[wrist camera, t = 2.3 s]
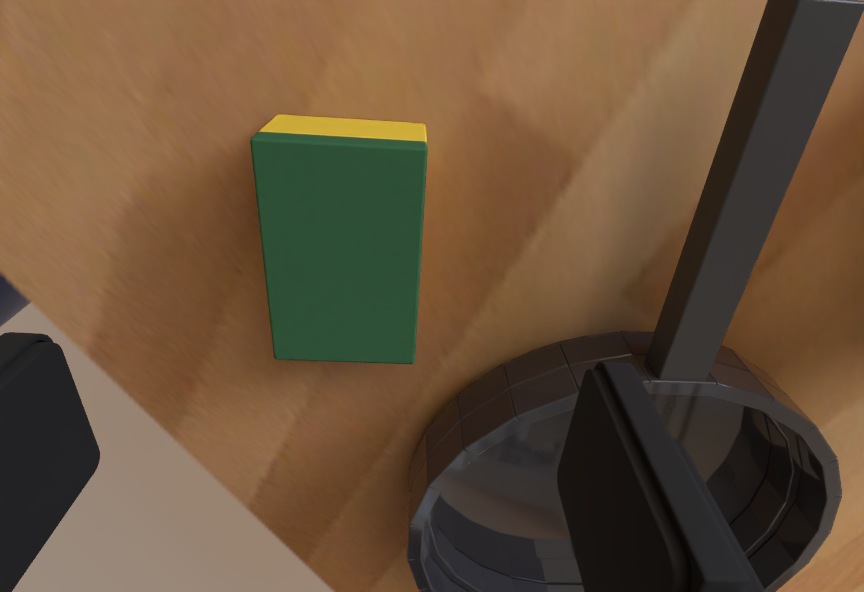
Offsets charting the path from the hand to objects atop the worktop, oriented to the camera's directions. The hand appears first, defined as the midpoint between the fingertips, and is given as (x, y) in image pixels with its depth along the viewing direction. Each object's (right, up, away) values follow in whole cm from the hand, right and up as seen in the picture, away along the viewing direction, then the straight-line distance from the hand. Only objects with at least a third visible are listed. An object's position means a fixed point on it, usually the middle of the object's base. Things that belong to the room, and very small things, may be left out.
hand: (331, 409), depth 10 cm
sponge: (-1, +5, +8) cm, 9 cm away
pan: (+9, -6, +15) cm, 18 cm away
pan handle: (+10, +4, +6) cm, 13 cm away
